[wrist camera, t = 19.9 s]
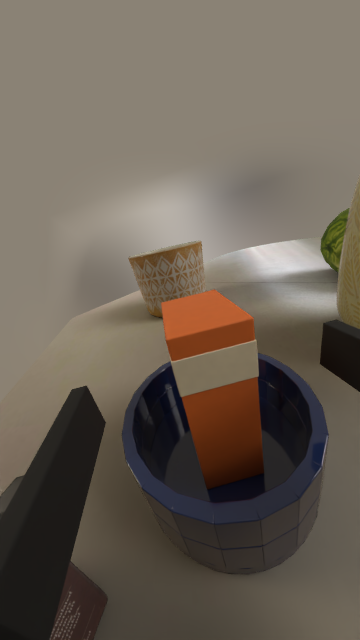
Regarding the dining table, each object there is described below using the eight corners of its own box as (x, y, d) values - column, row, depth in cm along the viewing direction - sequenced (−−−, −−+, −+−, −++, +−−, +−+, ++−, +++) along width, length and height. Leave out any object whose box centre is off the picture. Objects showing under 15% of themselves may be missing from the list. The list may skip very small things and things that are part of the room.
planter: (151, 328, 46) (130, 258, 40) (142, 308, 63) (126, 256, 57) (223, 305, 50) (214, 238, 43) (195, 292, 67) (186, 242, 61)
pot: (139, 612, 11) (98, 568, 8) (147, 405, 24) (132, 367, 22) (384, 535, 11) (410, 474, 9) (257, 375, 25) (254, 335, 22)
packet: (206, 491, 14) (164, 340, 9) (190, 417, 20) (159, 302, 15) (265, 474, 14) (255, 317, 9) (232, 405, 20) (215, 289, 16)
